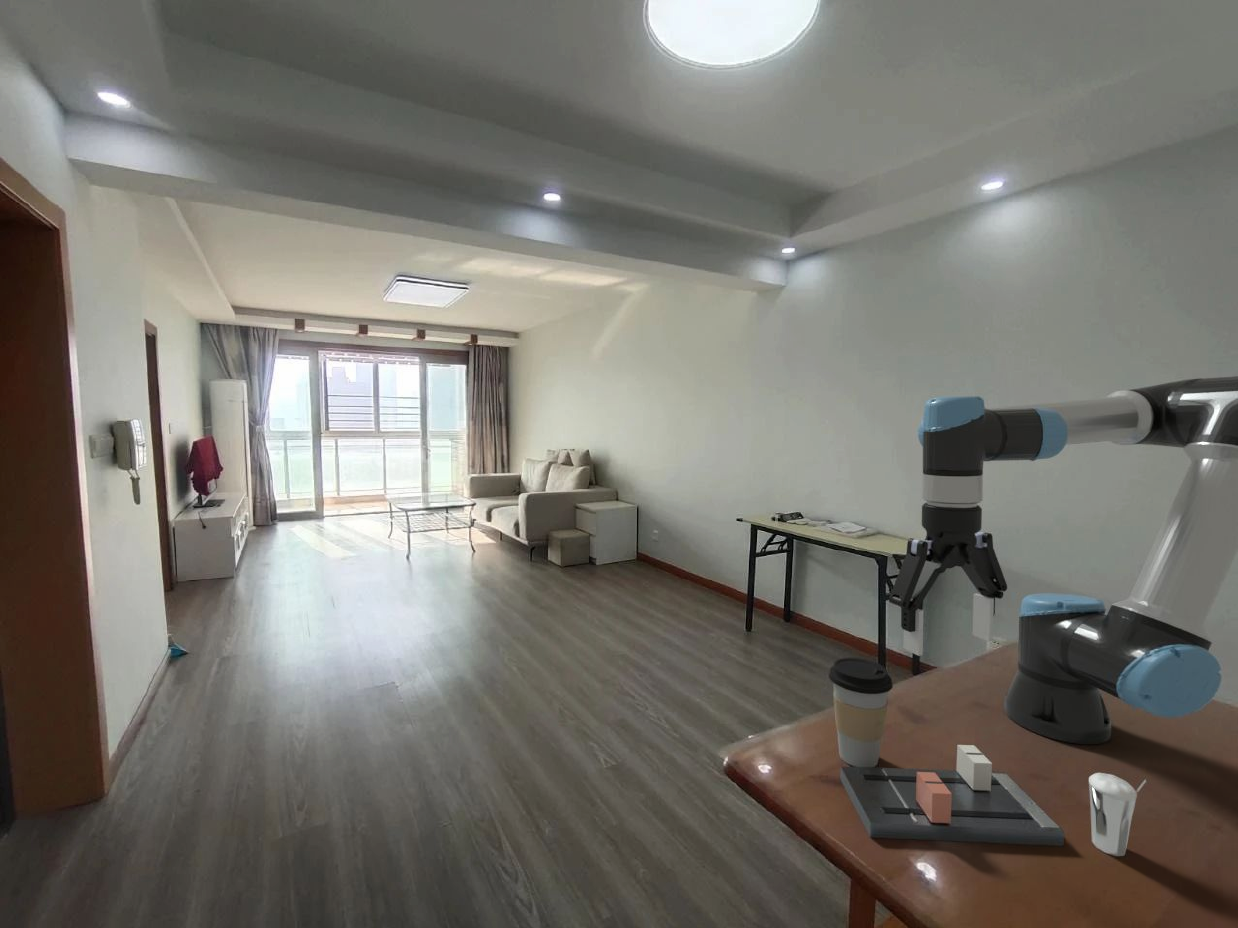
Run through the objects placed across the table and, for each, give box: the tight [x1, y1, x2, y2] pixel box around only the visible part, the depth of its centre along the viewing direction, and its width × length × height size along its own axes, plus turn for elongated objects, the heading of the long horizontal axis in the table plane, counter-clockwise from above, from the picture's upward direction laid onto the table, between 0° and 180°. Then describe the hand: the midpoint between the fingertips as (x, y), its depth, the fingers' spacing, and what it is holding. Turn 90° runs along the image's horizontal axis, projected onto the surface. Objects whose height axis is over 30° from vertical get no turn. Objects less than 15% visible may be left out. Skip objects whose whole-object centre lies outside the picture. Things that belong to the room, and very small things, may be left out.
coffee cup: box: [828, 657, 894, 768], centre depth 89 cm, size 9×9×15 cm
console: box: [839, 765, 1065, 847], centre depth 78 cm, size 24×12×2 cm, turn 86°
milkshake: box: [1088, 772, 1147, 857], centre depth 70 cm, size 4×5×10 cm
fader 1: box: [916, 772, 952, 823], centre depth 74 cm, size 2×4×4 cm, turn 176°
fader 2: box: [955, 744, 993, 791], centre depth 81 cm, size 2×4×4 cm, turn 176°
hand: (948, 644), depth 83 cm, fingers open, 13 cm apart
